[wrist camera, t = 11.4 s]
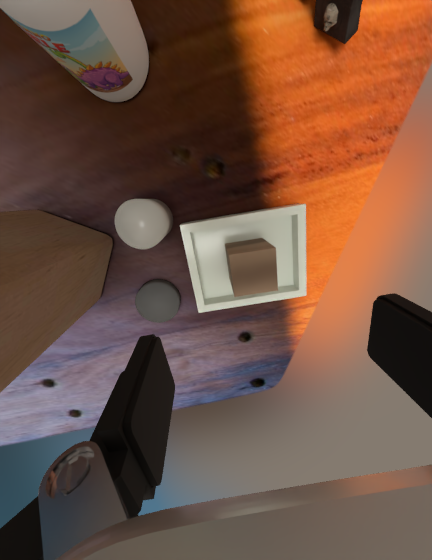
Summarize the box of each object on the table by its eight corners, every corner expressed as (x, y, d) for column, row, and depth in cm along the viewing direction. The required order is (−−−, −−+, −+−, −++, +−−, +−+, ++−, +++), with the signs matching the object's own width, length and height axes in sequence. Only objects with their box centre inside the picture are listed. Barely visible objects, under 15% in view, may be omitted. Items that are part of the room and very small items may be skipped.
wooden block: (117, 236, 28) (-62, 312, 9) (102, 300, 31) (-54, 453, 13) (35, 206, 26) (-381, 226, 8) (28, 277, 30) (-279, 414, 11)
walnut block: (224, 243, 28) (229, 254, 23) (262, 237, 28) (275, 247, 23) (229, 278, 30) (234, 297, 24) (264, 273, 30) (277, 290, 24)
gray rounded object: (134, 282, 31) (129, 287, 29) (175, 275, 31) (173, 280, 29) (145, 318, 33) (141, 325, 31) (184, 312, 33) (182, 319, 31)
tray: (182, 222, 28) (179, 225, 25) (297, 203, 27) (305, 204, 25) (199, 304, 32) (198, 312, 30) (299, 288, 32) (306, 295, 29)
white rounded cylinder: (128, 202, 27) (107, 203, 21) (168, 195, 26) (157, 194, 21) (140, 242, 28) (123, 252, 23) (177, 235, 28) (169, 245, 23)
